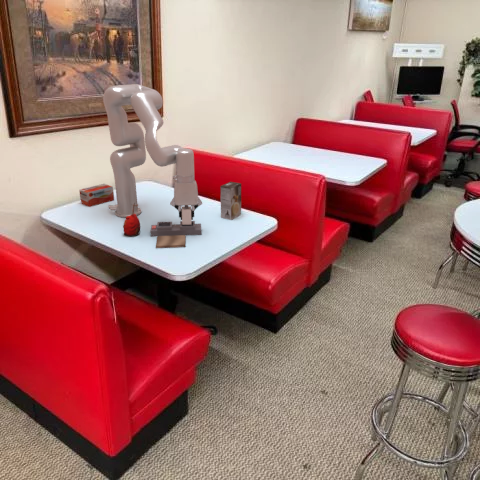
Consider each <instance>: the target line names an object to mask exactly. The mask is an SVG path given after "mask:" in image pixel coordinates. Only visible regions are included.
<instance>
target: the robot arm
mask: <svg viewBox="0 0 480 480" xmlns="http://www.w3.org/2000/svg"><path fill="white" fill-rule="evenodd" d="M102 100H103V105H104V109H105V112H106V116H107V123H108V129H109V136H110V141H111V143H112V144H113V146H115V147H124V146H127V147H124V148H118V149H117V150H114V151H113V152H111V154H110V156H109V162H110V164H111V167H112V168H111V169H112V172H113V179H114V185H115V193H116V204H115V205H108V210H110V211H114V213H115V214H114V215H115V216H116V217H120V218H126V217H127V216H130V215H132V213H133V211H132V210H133V205H134V203H135V205H138V197H137V196H138V195H137V184H136V177H135V174H134V172H133V171H132V170H131V169H132V168H136V167H140V166H142V165H144V164H145V163H146V160H147V153H148V154H149V156H150V158H151V160H152V161H153V163H154V164H155V165H157V166H158V167H161V168H162V167H168V166H171V165H174V164H175V173H176V174H175V175H173V176H172V180H175V181H174V186H173V198H172V199H171V200H170V204H169V205H170V206H172V207H174V208H175V209H176V210H177V211H178V218H179V219H180V221H182V206H191V221H194V218H195V211H196V210H197V209H198V208H199V207H200V206H201V205H203V201H202V200H201V198H200V197H199V192H198V184H197V181H196V180H195V155H194V154H195V153H194V150H193V149H192V148H186V147H182V146H181V145H178V144H173V145H168V146H164V147H162V146H161V145H160V144H159V142H158V139H157V136H156V135H157V132H158V131H159V130H160V129H161V128H162V126H163V125H164V119H163V117H162V116H161V114H160V112H159V110H160V109H161V108H162V107H163V105H164V100H163V96H162V95H161V94H160V93H159V91H157V89H154V88H150V87H148V86H145V85H141V84H137V83H133V84H132V83H130V84H120V85H118V84H117V85H112V86H109V87H108V88H106V89H105V90H104V93H103V99H102ZM123 106H131V107H132V109H133V111H134V112H135V114H136V116H137V117H138V120H139V121H140V123H141V124H142V126H143V128H144V130H145V132H144V130H143V128H142V127H141V125H140V124H138V123H137V122H129V121H128V114H127V112H126V110H125V109H124V107H123ZM144 133H145V134H144ZM131 204H132V205H131ZM134 214H136V216H137V217H138V216H139V215H140V214H142V208H140V207H139V205H138V206H134Z"/></svg>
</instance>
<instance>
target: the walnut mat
mask: <svg viewBox="0 0 480 480" xmlns="http://www.w3.org/2000/svg"><path fill="white" fill-rule="evenodd" d="M186 236H187V235H174V236H156V242H155V249H166V248H167V249H168V248H169V249H170V248H186Z"/></svg>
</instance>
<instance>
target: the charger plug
mask: <svg viewBox="0 0 480 480" xmlns="http://www.w3.org/2000/svg"><path fill="white" fill-rule="evenodd" d="M181 209H182V220H181V221H182V225H191V221H192V220H191V205H188V206H181Z"/></svg>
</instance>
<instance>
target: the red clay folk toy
mask: <svg viewBox="0 0 480 480" xmlns="http://www.w3.org/2000/svg"><path fill="white" fill-rule="evenodd" d="M131 205H132V204H131ZM134 206H138V207H139V205H135V203H134V205H133V210H132V211H133V213H132V215H130V216H127V217H125V219H124V221H123V225H122V228H123V234H124V236H128V237H134V236H137V235H140V232H141V223H140V219H139V218H138V215H137V216H136V214H134Z"/></svg>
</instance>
